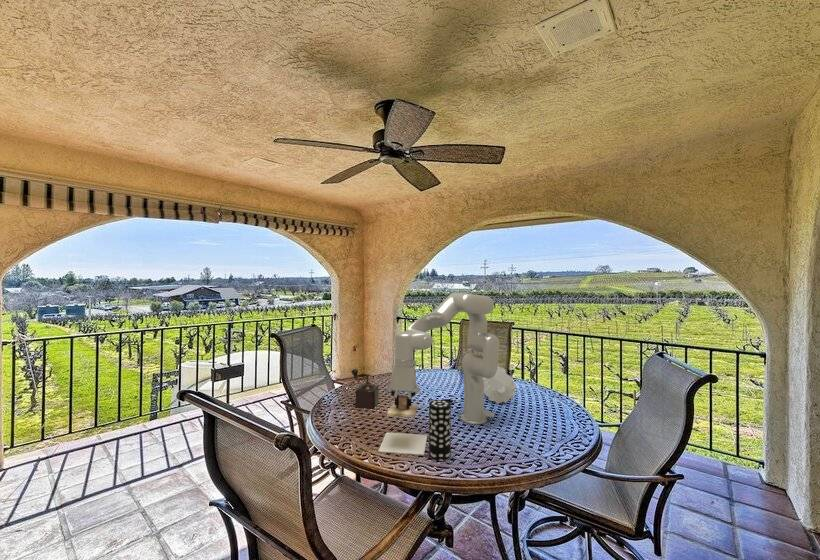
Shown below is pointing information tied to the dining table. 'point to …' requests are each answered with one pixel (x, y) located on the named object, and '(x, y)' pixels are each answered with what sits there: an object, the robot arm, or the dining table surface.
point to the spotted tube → (439, 430)
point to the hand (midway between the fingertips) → (403, 406)
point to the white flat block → (403, 443)
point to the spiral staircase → (499, 386)
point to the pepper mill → (366, 393)
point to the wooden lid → (402, 408)
